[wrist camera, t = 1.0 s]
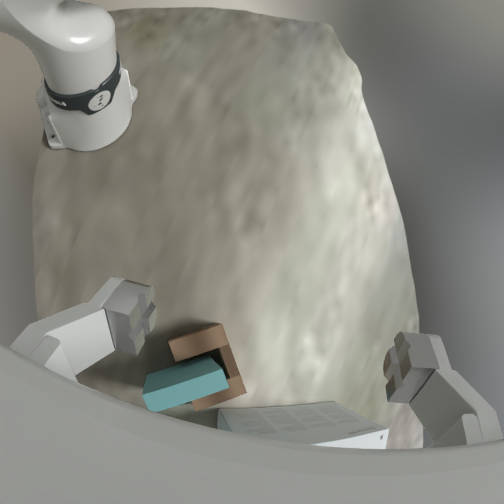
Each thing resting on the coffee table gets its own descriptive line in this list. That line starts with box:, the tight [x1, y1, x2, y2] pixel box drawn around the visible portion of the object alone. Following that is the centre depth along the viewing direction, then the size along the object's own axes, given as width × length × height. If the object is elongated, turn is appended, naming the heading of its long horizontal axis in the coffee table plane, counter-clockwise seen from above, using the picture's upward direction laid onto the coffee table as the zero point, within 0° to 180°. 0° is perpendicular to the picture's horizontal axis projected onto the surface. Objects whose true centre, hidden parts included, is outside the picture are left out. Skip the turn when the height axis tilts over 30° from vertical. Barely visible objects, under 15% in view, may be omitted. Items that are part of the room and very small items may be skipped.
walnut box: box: [168, 323, 247, 412], centre depth 44 cm, size 8×11×4 cm
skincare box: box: [217, 401, 389, 449], centre depth 40 cm, size 21×5×16 cm, turn 87°
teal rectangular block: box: [142, 355, 229, 412], centre depth 39 cm, size 10×2×12 cm, turn 109°
